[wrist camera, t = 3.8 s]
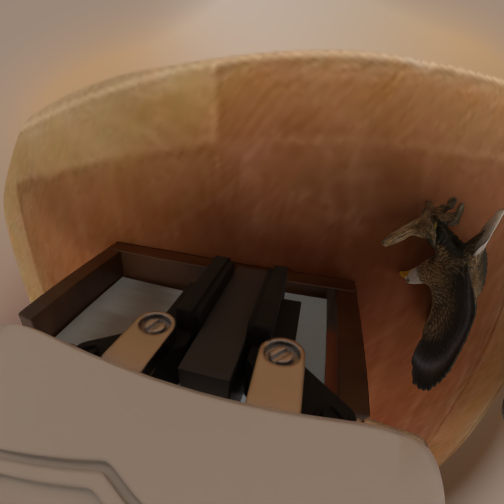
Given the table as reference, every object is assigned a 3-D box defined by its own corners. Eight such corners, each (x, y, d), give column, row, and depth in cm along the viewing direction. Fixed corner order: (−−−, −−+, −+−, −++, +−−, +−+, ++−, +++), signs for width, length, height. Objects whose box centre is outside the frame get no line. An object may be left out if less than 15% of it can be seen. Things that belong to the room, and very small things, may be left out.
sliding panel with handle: (338, 249, 15) (347, 401, 6) (324, 308, 16) (313, 462, 8) (202, 228, 16) (89, 337, 7) (202, 287, 17) (116, 409, 9)
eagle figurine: (334, 242, 15) (383, 377, 16) (436, 235, 8) (466, 422, 9) (423, 193, 16) (456, 312, 17) (512, 172, 9) (535, 327, 10)
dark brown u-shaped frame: (355, 281, 17) (371, 416, 8) (343, 321, 18) (345, 455, 9) (117, 241, 20) (17, 313, 11) (122, 278, 21) (36, 357, 12)
